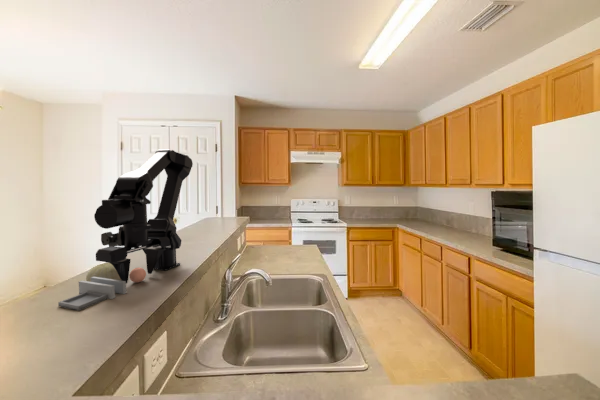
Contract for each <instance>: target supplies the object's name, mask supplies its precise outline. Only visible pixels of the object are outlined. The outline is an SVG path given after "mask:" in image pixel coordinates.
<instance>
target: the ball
mask: <svg viewBox="0 0 600 400" xmlns="http://www.w3.org/2000/svg"><path fill="white" fill-rule="evenodd" d="M146 277H147V271H146V270H145V268H143V267H135V268H133V269H132V270H130V271H129V277H128V278H129V279H130V281H131V282H133V283H141V282H143V281H144V280H145V279H146Z"/></svg>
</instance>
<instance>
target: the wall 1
mask: <svg viewBox="0 0 600 400" xmlns="http://www.w3.org/2000/svg"><path fill="white" fill-rule="evenodd" d="M87 291H89V292H95V293H100V294H106V295H107V299H111V300H113V299H115V298H116V293H115V286H114V285H108V284H101V283H95V282H89V281H86V280H79V281H78V292H79V293H78V294H82V293H85V292H87Z"/></svg>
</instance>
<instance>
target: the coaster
mask: <svg viewBox="0 0 600 400" xmlns="http://www.w3.org/2000/svg"><path fill="white" fill-rule="evenodd" d="M107 299H108V298H107V295H106V294H100V293H95V292H89V291H87V292H85V293H82V294H80V293H78V294H77V295H75V296H71V297H69V298H66V299H63V300H60V301H58V307H59V306H61V307H60V308H63V307H64V309H68V310H74V311H78V312H79V311H81V310H83V309H86V308H89V307H91V306H93V305H96V304H99V303H100V302H103V301H105V300H107Z"/></svg>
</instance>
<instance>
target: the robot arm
mask: <svg viewBox="0 0 600 400" xmlns="http://www.w3.org/2000/svg"><path fill="white" fill-rule="evenodd" d="M154 152H155V153H154V154H153V155H152V156H151V157H149V158H148V159H147V161H145V162H144V163H143V164H142V165H141V166H140V167H139V168H137V169H135V170H133V171H129V172H126V173H123V175H120V176H119V177H118V178H117V179H116V181H115V185H114V186H113V188H112V190H111V193H110V194H109V197H108V199H101V205H100V206H98V207H97V208H96V211H95V213H94V221H95V223H96V224H97V225H98V226H99V227H100V228H102V229H105V230H106V229H107V230H108V229H111V228H116V227H119V228H118V232H117V233H113V232H112V231H107V232H103V233H102V234H100V241H101V244H102V245H103V246H107V247H103V248H99V249H97V251H96V252H95V261H96V262H103V263H111V264H112V265H113V266H114V268H115V269H116V271H117V273H118V275H119V277H120V279H121V281H126V284H128V281H129V278H130V277H129V275H130V267H131V260H132V259H131V258H127V257H128V254H131V253H134V252H139V251H141V250H142V251H143V252H144V254H145V260H146V270H147V271H146V273H147V274H148V275H151V274H153V272H154V270H157V271H159V270H160V271H168V270H171V269H173V268H175V267H178V266H180V265H181V263H180V262H177V249H180V247H181V246H182V239H181V238H180V236H179V234H177V226H176V223H175V221H174V219H175V213H176V210H177V205H178V202H179V198H180V193H181V189H182V185H183V181H184V180H186V178H187V177H188V176H189V175H190V173H191V171H192V168H193V165H194V164H193V160H192V158H190V156H189V155H185V154H183V153H180V152H177V151H175V150H173V149H171V148H167V149H165V148H164V149H162V148H159V149H157V150H156V151H154ZM163 171H164V172H165V173H166V181H165V184H164V187H163V191H162V195H161V200H160V203H159V207H158V211H157V214H156V216H155V217H154V218H149V219H148V213H147V211H148V209H147V206H148V205H150V204H151V203H152V202H151V200H150V199H148V198H147V196H148V195H150V192H151V191H152V189H153V187H154V183H153V182H154V180H155V179H156V178H157V177H158V176H159V175H160V174H161V173H162V172H163Z"/></svg>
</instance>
